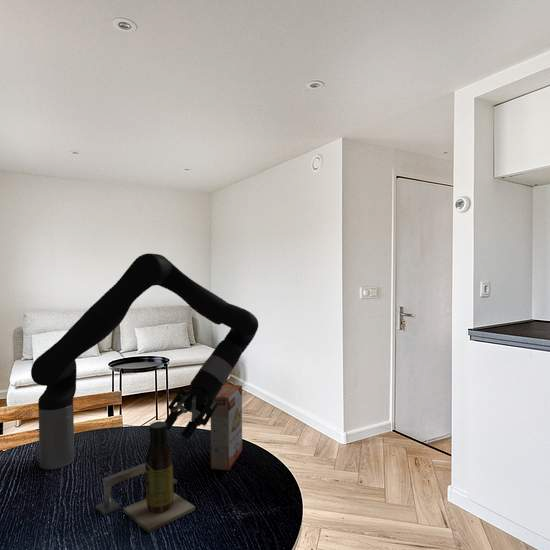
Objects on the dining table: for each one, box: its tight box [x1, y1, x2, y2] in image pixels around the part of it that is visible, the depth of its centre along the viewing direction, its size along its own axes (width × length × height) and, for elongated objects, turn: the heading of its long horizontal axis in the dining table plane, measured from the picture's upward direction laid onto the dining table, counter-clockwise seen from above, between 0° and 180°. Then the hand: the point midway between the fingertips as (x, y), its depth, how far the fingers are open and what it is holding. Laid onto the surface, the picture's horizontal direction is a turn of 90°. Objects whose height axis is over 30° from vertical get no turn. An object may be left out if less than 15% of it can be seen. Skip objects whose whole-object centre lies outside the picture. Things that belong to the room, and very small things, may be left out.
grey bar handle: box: [95, 462, 178, 516], centre depth 105 cm, size 4×20×7 cm, turn 136°
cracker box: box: [210, 384, 243, 471], centre depth 125 cm, size 14×6×21 cm, turn 168°
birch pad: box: [122, 492, 196, 534], centre depth 98 cm, size 12×12×1 cm
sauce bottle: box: [144, 421, 175, 512], centre depth 99 cm, size 6×6×20 cm
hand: (174, 432), depth 101 cm, fingers open, 8 cm apart
